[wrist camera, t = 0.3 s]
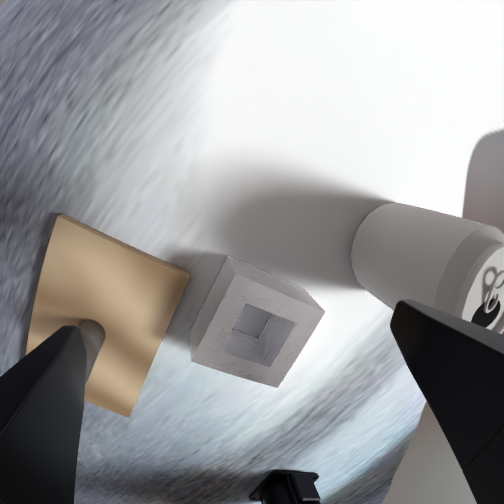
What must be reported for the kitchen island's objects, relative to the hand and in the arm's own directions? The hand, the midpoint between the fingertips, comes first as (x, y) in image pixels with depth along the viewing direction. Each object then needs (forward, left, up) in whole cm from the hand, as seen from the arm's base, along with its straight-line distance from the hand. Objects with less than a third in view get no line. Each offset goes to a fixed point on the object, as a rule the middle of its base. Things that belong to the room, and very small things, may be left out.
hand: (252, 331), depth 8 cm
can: (+5, -13, -14) cm, 20 cm away
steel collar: (-4, -5, -14) cm, 15 cm away
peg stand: (-10, +5, -14) cm, 18 cm away
